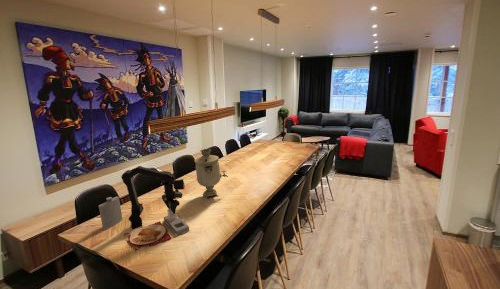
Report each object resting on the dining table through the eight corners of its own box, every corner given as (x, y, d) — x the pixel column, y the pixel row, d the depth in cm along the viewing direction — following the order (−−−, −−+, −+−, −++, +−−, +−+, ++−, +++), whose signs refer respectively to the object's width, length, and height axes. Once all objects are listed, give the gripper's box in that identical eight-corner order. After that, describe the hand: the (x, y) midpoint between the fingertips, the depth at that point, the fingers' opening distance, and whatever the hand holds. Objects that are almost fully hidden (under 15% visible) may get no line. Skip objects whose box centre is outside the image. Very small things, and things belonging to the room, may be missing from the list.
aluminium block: (170, 220, 181) (169, 212, 179) (168, 217, 184) (167, 210, 183) (176, 218, 183) (175, 210, 182) (174, 215, 187) (173, 208, 185)
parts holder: (176, 235, 168) (176, 230, 167) (164, 220, 187) (163, 216, 186) (189, 230, 173) (188, 226, 172) (175, 216, 192) (175, 212, 191)
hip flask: (120, 218, 194) (115, 192, 189) (124, 218, 193) (120, 193, 188) (102, 229, 179) (96, 202, 175) (106, 230, 178) (101, 203, 174)
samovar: (227, 202, 211) (223, 154, 202) (194, 203, 212) (189, 155, 203) (230, 187, 240) (227, 145, 231) (201, 188, 241) (197, 146, 232)
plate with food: (160, 223, 185) (159, 219, 185) (172, 239, 164) (171, 234, 164) (123, 236, 173) (123, 231, 172) (131, 254, 152) (130, 249, 151)
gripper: (185, 191, 176) (188, 212, 180) (175, 183, 191) (177, 203, 195) (169, 195, 170) (172, 217, 173) (160, 187, 185) (162, 208, 188)
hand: (171, 211), depth 183 cm, fingers open, 9 cm apart
